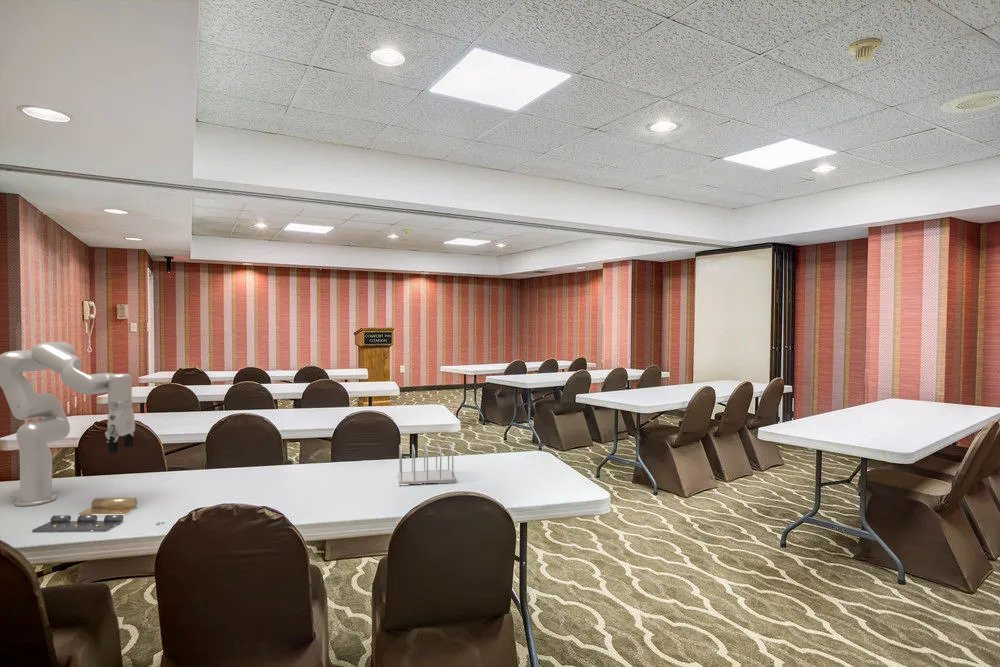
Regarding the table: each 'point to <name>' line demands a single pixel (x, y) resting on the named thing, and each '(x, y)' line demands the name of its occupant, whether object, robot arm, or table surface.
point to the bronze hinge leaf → (111, 506)
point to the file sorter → (426, 476)
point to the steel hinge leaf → (79, 523)
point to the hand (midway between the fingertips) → (121, 449)
